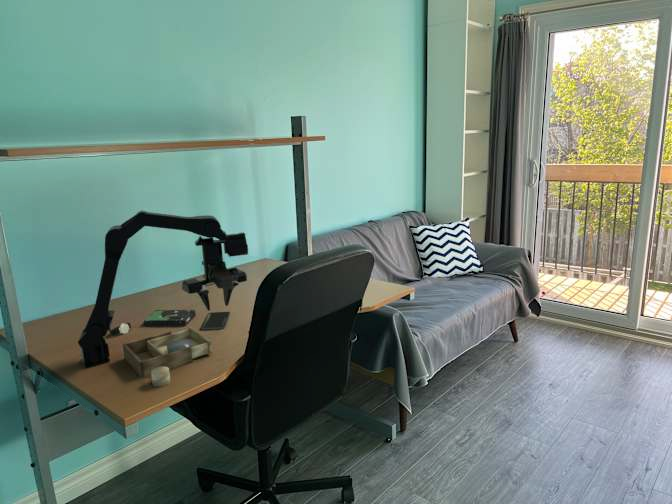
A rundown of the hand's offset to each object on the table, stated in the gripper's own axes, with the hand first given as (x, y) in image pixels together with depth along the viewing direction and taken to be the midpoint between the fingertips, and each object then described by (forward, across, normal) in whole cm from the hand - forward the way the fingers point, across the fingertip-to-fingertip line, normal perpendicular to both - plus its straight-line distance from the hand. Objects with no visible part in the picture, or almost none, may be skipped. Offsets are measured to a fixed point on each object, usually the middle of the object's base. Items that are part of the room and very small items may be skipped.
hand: (217, 307), depth 152 cm
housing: (+11, -20, 0) cm, 22 cm away
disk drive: (+12, -5, +29) cm, 32 cm away
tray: (+10, -13, 0) cm, 16 cm away
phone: (+12, +6, +17) cm, 22 cm away
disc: (+10, -13, 0) cm, 16 cm away
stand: (+11, -24, -14) cm, 29 cm away
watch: (+11, -21, +30) cm, 39 cm away
